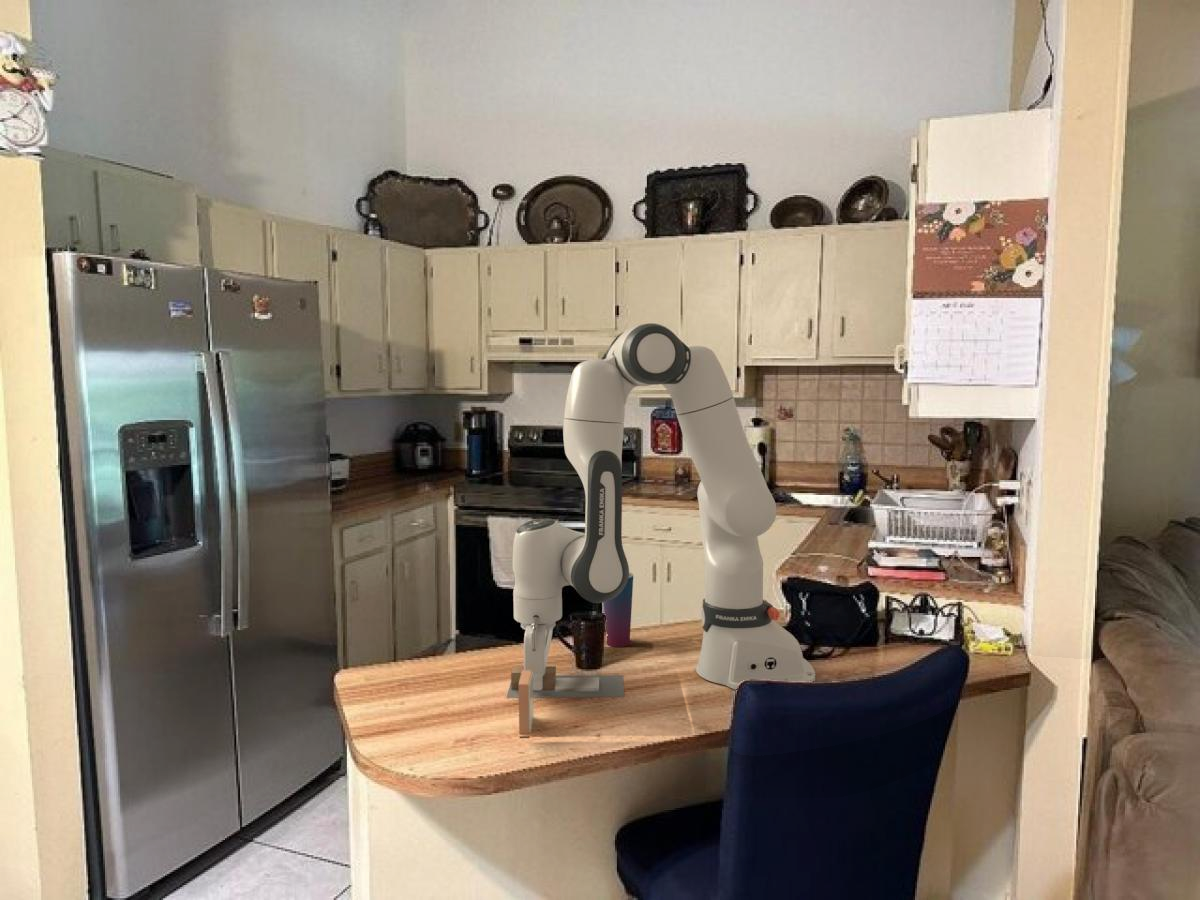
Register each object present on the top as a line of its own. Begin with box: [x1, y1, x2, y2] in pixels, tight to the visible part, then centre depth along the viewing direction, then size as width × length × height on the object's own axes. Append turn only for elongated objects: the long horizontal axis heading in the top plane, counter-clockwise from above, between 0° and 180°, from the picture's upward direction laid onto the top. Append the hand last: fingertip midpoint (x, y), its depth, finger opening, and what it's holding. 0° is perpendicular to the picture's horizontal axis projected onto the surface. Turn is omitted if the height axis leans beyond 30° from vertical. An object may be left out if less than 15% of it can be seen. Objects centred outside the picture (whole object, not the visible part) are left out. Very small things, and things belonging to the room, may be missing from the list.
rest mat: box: [506, 674, 625, 699], centre depth 150 cm, size 21×10×1 cm, turn 90°
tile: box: [518, 670, 534, 739], centre depth 133 cm, size 2×6×9 cm, turn 0°
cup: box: [603, 571, 634, 648], centre depth 174 cm, size 7×7×15 cm
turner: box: [510, 665, 599, 692], centre depth 149 cm, size 16×5×3 cm, turn 90°
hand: (539, 681), depth 149 cm, fingers open, 5 cm apart
